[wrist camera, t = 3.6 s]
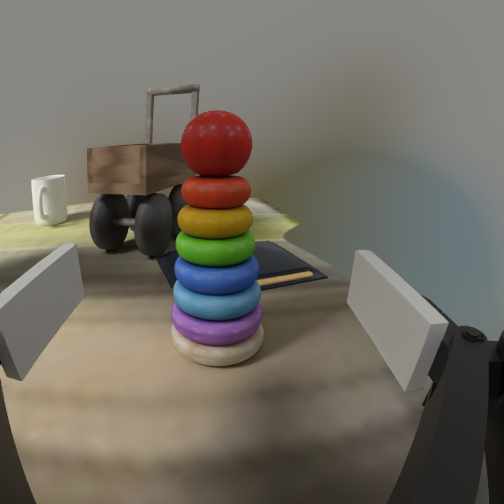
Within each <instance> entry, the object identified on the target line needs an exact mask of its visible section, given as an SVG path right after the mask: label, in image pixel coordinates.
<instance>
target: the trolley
mask: <svg viewBox="0 0 504 504" xmlns="http://www.w3.org/2000/svg"><path fill="white" fill-rule="evenodd" d="M199 91H200V86H199V84H192V85H178V86H166V87H155V88H148V89H147V92H146V93H147V105H146V128H145V144H134V145H119V146H106V147H96V148H87V172H88V193H96V194H101V195H100V196H99V197H98V198H97V199H96V201H95V202H94V204H93V207H92V210H91V214H90V223H89V225H90V233H91V237H92V239H93V241H94V243H95V244H96V246H98V247H99V248H101V249H107V250H115V249H117V248H119V247H120V246H121V245H122V243H123V242H124V240H125V238H126V236H127V233H128V229H129V228H130V229H131V230H132V231H134V234H135V241H136V244H137V247H138V249H139V250H140V252H141V253H142V254H144V255H150V256H159V255H161V254H162V253H163V252H164V251H165V249H166V247H167V245H168V243H169V240H170V236H171V234H172V235H173V236H178V235H179V233H180V232H181V231H182V230H181V228H180V227H179V225H178V220H177V218H178V214H179V212H180V210H181V209H182V208H183V207H185V206H186V205H188V203H187V202H186V201H185V200H184V199H183V197H182V194H181V188H182V185H183V184H182V183H184V182H185V181H186V180H187V179H188V178H190V177H194V176H196V173H195V172H194V171H192V170H191V169H190V168H189V166H188V165H187V164H186V162H185V160H184V158H183V155H182V151H181V143H157V144H156V143H155V144H152V131H153V106H154V96H157V95H169V94H184V93H192V97H191V115H190V121H192V120H193V119H194V118H195V117H196V116H198V102H199ZM172 186H174V187H173V189H172V190H171V192H170V195H169V198H168V197H166V195H164V194H158V193H157V194H156V192H157V191H160V190H163V189H166V188H169V187H172ZM123 194H127V195H128V196H127V199H126V198H125V197H124V195H123Z"/></svg>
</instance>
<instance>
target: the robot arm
mask: <svg viewBox="0 0 504 504" xmlns="http://www.w3.org/2000/svg"><path fill="white" fill-rule="evenodd" d="M84 297H85V295H84V289H83V283H82V277H81V271H80V265H79V258H78V250H77V244H62V245H61V246H60V247H58V248H57V249H56V250H54V251H53V252H52V253H50V254H49V255H48V256H46V257H45V258H44V259H42V260H41V261H40V262H38V263H37V264H36V265H35V266H33V267H32V268H31V269H29V270H28V271H27V272H26V273H24V274H23V275H22V276H21V277H19V278H18V279H17V280H16V281H15V282H13V283H12V284H11V285H10V286H8V287H7V288H6V289H5V290H4V291H3V292H1V293H0V365H2V367H3V369H4V371H5V374H6V376H7V377H9V378H12V379H16V380H19V381H23V379H24V378H25V376H26V375H27V373H28V372H29V370H30V369H31V367H32V366H33V364H34V363H35V362H36V360H37V359H38V357H39V356H40V354H41V353H42V352H43V350H44V349H45V347H46V346H47V345H48V343H49V342H50V341H51V339H52V338H53V337H54V335H55V334H56V333H57V331H58V330H59V329H60V327H61V326H62V325H63V323H64V322H65V321H66V319H67V318H68V317H69V315H70V314H71V313H72V312H73V310H74V309H75V308H76V307H77V305H78V304H79V303H80V301H81V300H82V299H83V298H84ZM347 304H348V305H349V306H350V308H351V309H352V311H353V312H354V314H355V315H356V317H357V318H358V320H359V321H360V323H361V325H362V326H363V328H364V329H365V331H366V332H367V334H368V335H369V337H370V338H371V340H372V341H373V343H374V344H375V346H376V348H377V349H378V351H379V352H380V354H381V355H382V357H383V358H384V360H385V362H386V363H387V365H388V366H389V368H390V369H391V371H392V373H393V374H394V376H395V377H396V379H397V381H398V382H399V384H400V386H401V387H402V389H403V390H404V392H408V391H413V390H418V389H422V388H423V385H424V383H425V381H426V379H427V377H428V375H429V377H430V378H431V379H432V381H433V384H432V386H431V388H430V390H429V392H428V394H427V396H426V398H425V400H424V402H423V404H422V405H423V406H425V407H424V410H423V414H422V417H421V420H420V423H419V426H418V429H417V432H416V435H415V437H414V440H413V443H412V446H411V448H410V451H409V454H408V456H407V459H406V461H405V464H404V466H403V469H402V471H401V474H400V476H399V478H398V480H397V483H396V485H395V487H394V489H393V492H392V494H391V496H390V498H389V500H388V502H387V504H474V503H475V499H476V494H477V490H478V485H479V479H480V474H481V468H482V461H483V454H484V449H485V457H486V466H487V476H488V489H489V504H504V331H503V332H502V334H501V337H500V339H499V341H487V337H486V336H485V335H484V334H483V333H482V332H481V331H479V330H478V329H476V328H473V327H469V326H459V327H458V326H457V325H456V324H455V323H454V322H453V321H452V320H451V319H450V318H449V317H448V316H447V315H446V314H445V313H442V311H441V310H440V309H439V308H437V306H436V305H435V304H434V303H433V302H432V301H431V300H429V299H427V298H426V297H424V296H422V295H420V294H419V293H418V292H416V291H415V290H414V289H413V288H412V287H411V286H410V285H409V284H408V283H407V282H406V281H404V280H403V279H402V278H401V277H400V276H399V275H398V274H397V273H395V272H394V271H393V270H392V269H391V268H390V267H389V266H388V265H386V264H385V263H384V262H383V261H382V260H381V259H379V258H378V257H377V256H376V255H375V254H374V253H373V252H371V251H370V250H356V252H355V258H354V264H353V270H352V276H351V281H350V287H349V292H348V298H347ZM0 504H36V502H35V500H34V497H33V495H32V492H31V490H30V487H29V485H28V482H27V479H26V476H25V474H24V471H23V468H22V465H21V462H20V459H19V456H18V453H17V449H16V446H15V443H14V439H13V435H12V432H11V428H10V424H9V420H8V416H7V411H6V407H5V402H4V397H3V392H2V386H1V380H0Z"/></svg>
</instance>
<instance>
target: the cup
mask: <svg viewBox="0 0 504 504" xmlns="http://www.w3.org/2000/svg"><path fill="white" fill-rule="evenodd" d="M31 182H32V197H33V209H34V218H35V223H36V225H38V226H51V225H56V224H60V223H63V222H65V221H66V220H67V217H68V214H67V201H66V187H65V186H66V185H65V175H52V176H45V177H39V178H35V179H32V180H31Z"/></svg>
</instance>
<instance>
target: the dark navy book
mask: <svg viewBox="0 0 504 504" xmlns="http://www.w3.org/2000/svg"><path fill="white" fill-rule="evenodd" d="M252 255H253V256H254V257H255V258H256V260H257V262H258V265H259V273H258V277H257V279H256V280H257V281H258V283H259V285H260V288H261V291H262V290H267V289H273V288H278V287H284V286H289V285H294V284H299V283H304V282H310V281H315V280H320V279H325V278H328V277H327V276H326V275H324V274H322V273H321V272H319V271H318V270H317V269H315V268H314V267H312V266H311V265H309V264H308V263H306V262H305V261H303V260H301V259H300V258H298V257H297V256H295V255H293V254H292V253H290V252H289V251H287V250H285V249H284V248H282V247H280V246H279V245H277V244H275V243H273V242H269V241H262V242H255V248H254V252H253V253H252ZM179 256H180V255H179V254H178V252H177V251H170V252H168V253H167V254H163V255H162V256H160V257H159V258H158V259H157V261H158V264H159V266H160V267H161V269H162V271H163V273H164V274H165V276H166V278H167V280H168V282H169V284H170V286H171V288H172V290H173V288H174V285H175V283H176V281H177V280H178V279H177V277H176V275H175V270H174V268H175V263H176V261H177V259H178V258H179Z"/></svg>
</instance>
